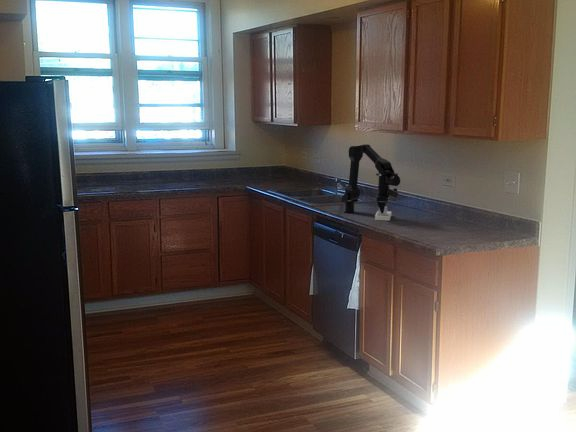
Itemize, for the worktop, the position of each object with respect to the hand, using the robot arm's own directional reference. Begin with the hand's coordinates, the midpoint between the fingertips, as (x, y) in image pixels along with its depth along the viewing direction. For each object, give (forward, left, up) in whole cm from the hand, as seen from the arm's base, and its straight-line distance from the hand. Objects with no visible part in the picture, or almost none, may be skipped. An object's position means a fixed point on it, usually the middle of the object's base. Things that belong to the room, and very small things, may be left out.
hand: (382, 212), depth 361 cm
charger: (0, 0, -4) cm, 4 cm away
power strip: (-4, 0, -4) cm, 6 cm away
